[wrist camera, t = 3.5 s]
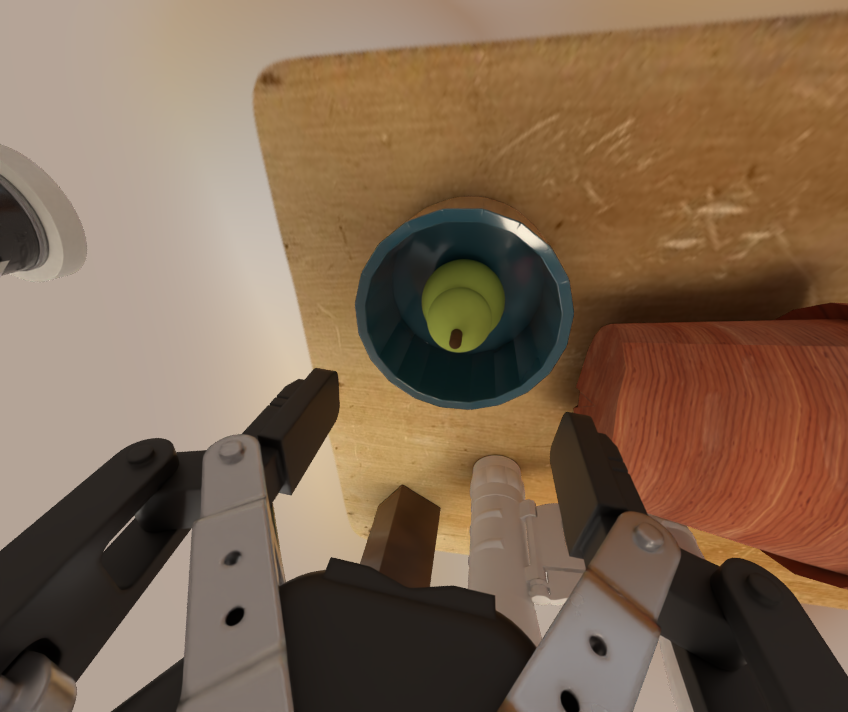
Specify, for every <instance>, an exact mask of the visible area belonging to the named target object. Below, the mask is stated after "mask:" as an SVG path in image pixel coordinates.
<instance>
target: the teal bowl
mask: <svg viewBox="0 0 848 712" xmlns="http://www.w3.org/2000/svg"><path fill="white" fill-rule="evenodd" d="M458 259H470V260H475V261H478V262H480V263H482V264H484V265H486V266H487V267H489V268H490V269H491V270H492V271H493V272H494V273H495V274H496V275H497V276H498V278H499V280H500V282H501V284H502V286H503V290H504V294H505V306H504V311H503V315H502V317H501V319H500V321H499V323H498V324H497V326H496V327H495V328H494V329H493V330H492V331H491V332H490V333H489V335H488V336H487V338H486V339H485V341H484V342H483V343H482V344H481V345H479V346H478V347H477V348H475V349H473V350H470V351H467V352H452V351H448V350H446V349H444V348H442V347H441V346H439V345H438V344H437V343H436V342H435V341H434V339H433V338H432V336H431V335H430V332H429V330H428V325H427V321H426V319H425V317H424V314H423V310H422V293H423V290H424V286H425V284H426V282H427V280H428V279H429V277H430V276H431V275H432V274H433V272H434V271H435V270H436V269H438V268H439V267H440V266H442V265H444V264H446V263H448V262H451V261H453V260H458ZM355 309H356V317H357V325H358V333H359V336H360V338H361V340H362V342H363V344H364V347H365V349H366V351H367V353H368V355H369V357H370V359H371V361H372V362H373V363H374V364H375V365H376V367H377V368H378V369H379V370H380V371H381V372H382V373H383V375H384V376H385V377H386V378H387V379H388V380H389V381H390V382H391V383H392V384H394V385H395V386H397V387H398V388H400V389H401V390H403V391H404V392H406V393H407V394H409V395H410V396H412V397H414V398H416V399H418V400H421V401H424V402H427V403H430V404H433V405H436V406H438V407H443V408H454V409H465V410H473V409H479V408H485V407H491V406H497V405H501V404H503V403H505V402H507V401H510V400H512V399H514V398H516V397H519V396H521V395H523V394H525V393H526V392H529V391H530V390H531V389H532V388H533V387H534V386H536V385H537V384H538V383H539V382H540V381H542V380H543V379H544V378H545V377H546V376H547V375H549V374H550V372H551V371H552V369H553V368H554V366H555V364H556V363H557V361H558V360H559V358H560V356H561V355H562V353H563V352H564V350H565V348H566V347H567V344H568V340H569V335H570V331H571V326H572V322H573V317H574V308H573V301H572V294H571V287H570V280H569V278H568V276H567V274H566V272H565V270H564V269H563V267H562V265H561V263H560V262H559V260H558V258H557V256H556V254H555V253H554V251H553V249H552V248H551V246H550V245H549V244H548V242H547V241H546V240H545V238H544V237H543V236H542V234H541V233H540V232H539V230H538V229H537V228H536V227H535V225H533V224H532V223H531V222H530V221H529V220H528V219H527V218H526V217H525V216H523V215H522V214H521V213H519V212H518V211H517V210H516V209H514V208H512V207H511V206H508V205H506V204H504V203H502V202H499V201H497V200H494V199H490V198H486V197H478V196H464V197H455V198H451V199H447V200H443V201H441V202H439V203H436V204H434V205H431V206H428V207H427V208H425V209H423V210H422V211H420V212H419V213H418V214H416V215H415V216H413V217H412V218H411V219H409V220H408V221H406V222H405V223H404V224H403V225H401V226H400V227H399V228H398V229H396V230H395V231H394V232H393V233H391V234H390V235H389V236H388V237H386V238H385V239H384V240H383V241H382V242H380V243H379V245H378V246H377V247H376V249H375V251H374V252H373V254H372V256H371V257H370V259H369V261H368V262H367V264H366V266H365V267H364V269H363V271H362V273H361V276H360V281H359V286H358V291H357V296H356V300H355Z"/></svg>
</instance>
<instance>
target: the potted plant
mask: <svg viewBox="0 0 848 712" xmlns="http://www.w3.org/2000/svg"><path fill="white" fill-rule="evenodd" d="M576 388H577V389H578V390H579V391H580V394H579V402H578V405H577V406H576V407H574V408H573V410H574V413H577V414H582V415H588V416H591V417H592V419H593V422H594V424H595V427H596V429H597V432H598V433H603V434H606V435H607V436H608V437H609V438H610V439H611V440H612V442H613V443H614V444H615V445H616V446H617V447H618V449H619V452H620V454H621V456H622V458H623V462H624V463H625V465H626V467H627V469H628V474H630V476H631V478H632V480H633V483H634V485H635V487H636V489H637V491H638V494H639V496H640V498H641V500H642V502H643V505H644V507H645V509H646V511H647V513H648V514H651V515H655V516H658V517H661V518H664V519H667V520H670V521H673V522H676V523H680V524H683V525H686V526H689V527H692V528H695V529H698V530H701V531H705V532H708V533H711V534H714V535H717V536H720V537H723V538H726V539H730V540H733V541H736V542H739V543H742V544H745V545H748V546H751V547H755V548H758V549H760V550H761V551H762V552H764V553H765V554H767V555H768V556H769V557H771V558H772V559H774V560H775V561H777V562H778V563H779V564H781V565H782V566H784V567H785V568H787V569H788V570H789V571H791V572H792V573H794V574H796V575H800V576H803V577H806V578H810V579H813V580H816V581H820V582H823V583H826V584H830V585H833V586H836V587H840V588H843V589H848V304H847V303H827V304H821V305H816V306H811V307H806V308H800V309H795V310H792V311H790V312H788V313H787V314H785V315H783V316H781V317H779V318H777V319H775V320H770V321H721V322H673V323H624V324H608V325H605V326H603V327H601V329H600V330H599V331H598V332H597V334H596V335H595V336H594V338H593V340H592V342H591V345H590V347H589V349H588V351H587V354H586V358H585V361H584V364H583V367H582V370H581V373H580V377H579V380H578V383H577V386H576Z"/></svg>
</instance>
